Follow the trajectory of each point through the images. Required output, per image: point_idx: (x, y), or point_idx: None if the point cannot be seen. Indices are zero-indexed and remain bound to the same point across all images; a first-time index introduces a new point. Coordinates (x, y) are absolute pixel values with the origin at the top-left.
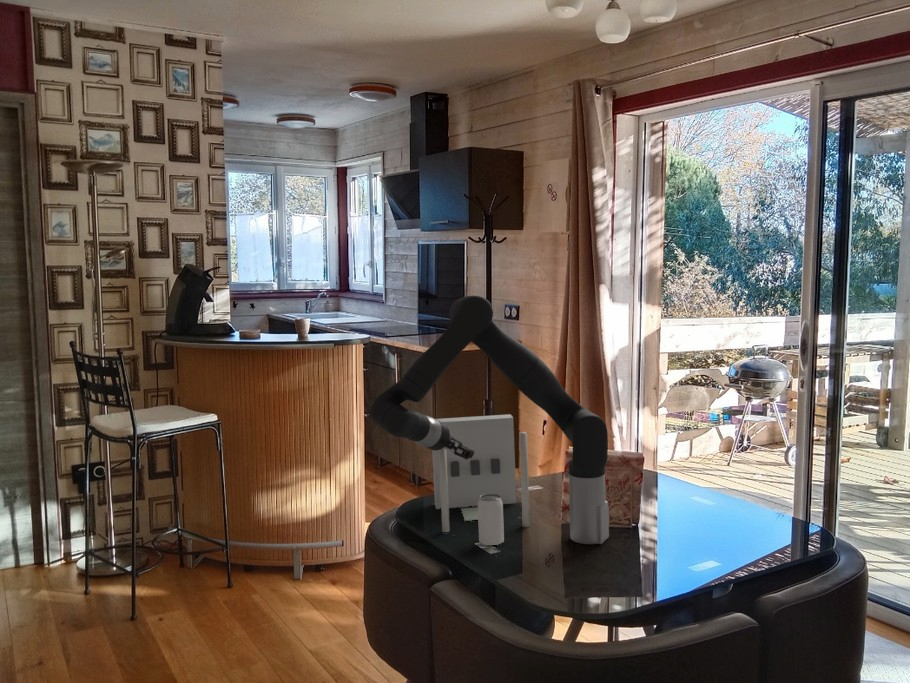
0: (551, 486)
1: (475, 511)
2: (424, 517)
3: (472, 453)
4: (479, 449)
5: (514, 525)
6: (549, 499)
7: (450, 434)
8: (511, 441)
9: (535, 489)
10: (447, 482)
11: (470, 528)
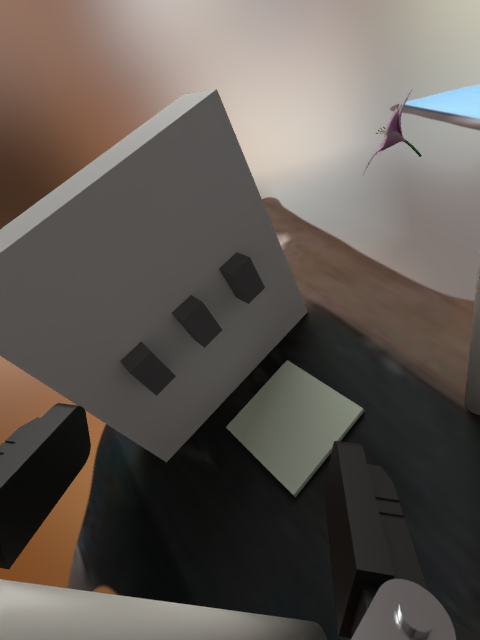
0: (297, 223)
1: (272, 419)
2: (169, 542)
3: (396, 506)
4: (176, 267)
5: (444, 423)
6: (349, 256)
7: (40, 421)
8: (245, 181)
9: (283, 247)
10: (250, 627)
11: None
